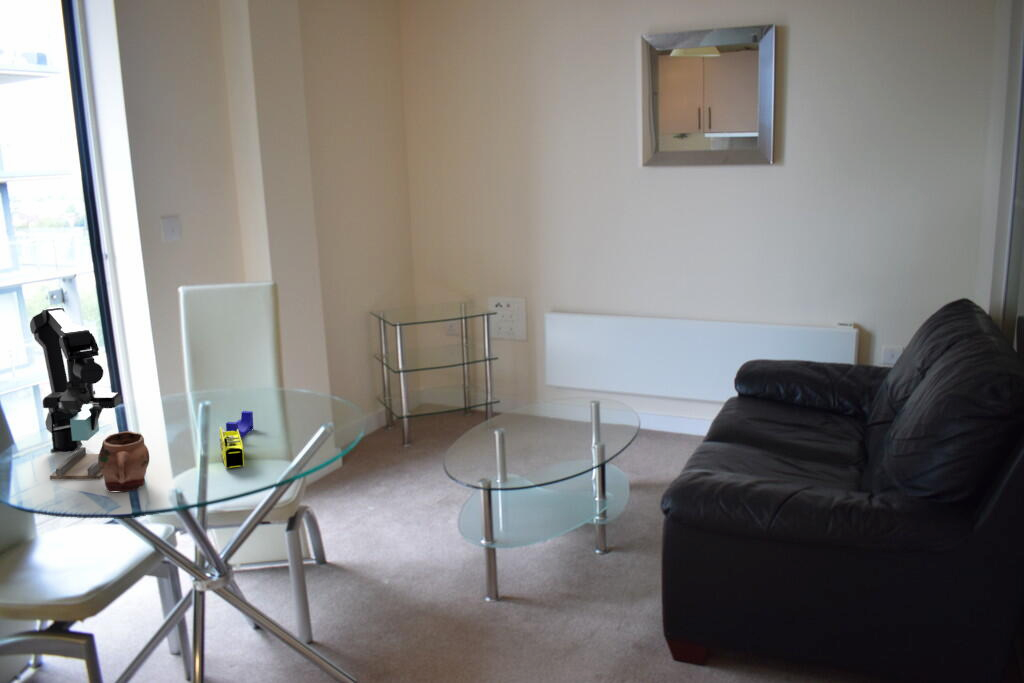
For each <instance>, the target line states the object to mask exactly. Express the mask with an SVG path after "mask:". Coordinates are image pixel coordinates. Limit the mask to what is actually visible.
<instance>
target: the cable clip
mask: <svg viewBox="0 0 1024 683" xmlns="http://www.w3.org/2000/svg"><path fill="white" fill-rule="evenodd" d="M240 416H241V418H240V419H238V420H236V421H227V422H226V423H225V428H226V431H235V432H237V429H238V431H239V434H240V437H241V439H242V438H244V437H245V436H246V435H248V434H249V433H250V432H252V431H253V430H254V413H253V411H251V410H243V411H241V415H240ZM252 429H253V430H252ZM251 430H252V431H251ZM226 431H225V432H226Z"/></svg>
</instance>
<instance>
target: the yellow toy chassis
mask: <svg viewBox="0 0 1024 683" xmlns="http://www.w3.org/2000/svg"><path fill="white" fill-rule="evenodd" d="M219 444H220V445H219V446H220V451H221V454H220V458H221V462H223V464H224V467H225V469H227V468H229V469H235V468H236V469H237V468H241V467H245V455H244V446H243V445H244V444H243V440H242V438H241V437H240V434H239V431H238V429H237V432H235V431H225V430H224V428H222V427H221V426H219Z"/></svg>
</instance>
